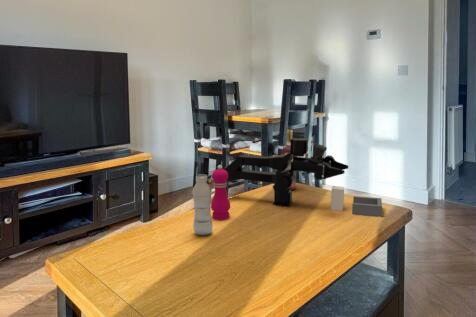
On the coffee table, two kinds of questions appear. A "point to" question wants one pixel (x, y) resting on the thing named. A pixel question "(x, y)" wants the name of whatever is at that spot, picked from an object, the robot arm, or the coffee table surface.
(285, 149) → the liquor
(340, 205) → the white rectangular block
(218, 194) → the pepper mill
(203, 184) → the plastic bottle
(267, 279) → the coffee table surface
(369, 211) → the frame
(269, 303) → the coffee table surface
